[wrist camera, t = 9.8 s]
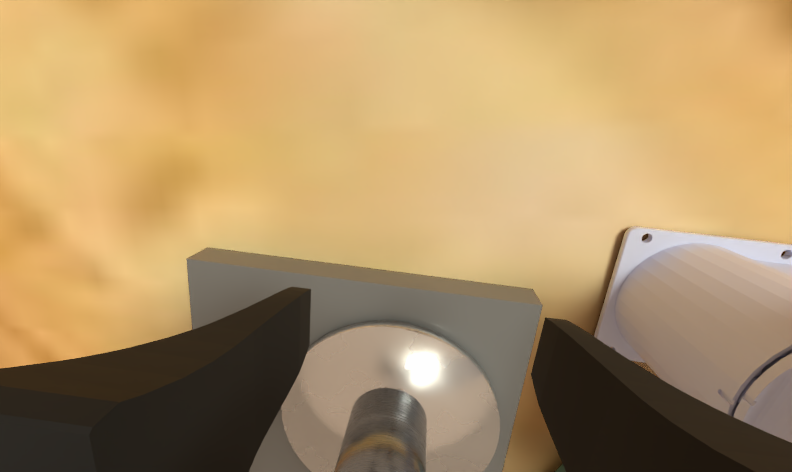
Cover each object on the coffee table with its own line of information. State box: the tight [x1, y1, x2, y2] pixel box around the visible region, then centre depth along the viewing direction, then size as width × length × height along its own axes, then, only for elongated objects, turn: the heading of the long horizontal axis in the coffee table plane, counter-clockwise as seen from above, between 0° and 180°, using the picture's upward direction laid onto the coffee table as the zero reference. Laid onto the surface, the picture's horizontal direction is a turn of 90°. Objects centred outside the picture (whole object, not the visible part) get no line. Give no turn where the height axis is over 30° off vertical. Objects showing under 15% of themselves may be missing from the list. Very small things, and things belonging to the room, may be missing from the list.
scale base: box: [187, 248, 543, 472], centre depth 23 cm, size 20×17×2 cm
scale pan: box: [281, 320, 500, 472], centre depth 22 cm, size 13×13×1 cm
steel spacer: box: [334, 388, 427, 472], centre depth 19 cm, size 4×4×6 cm
